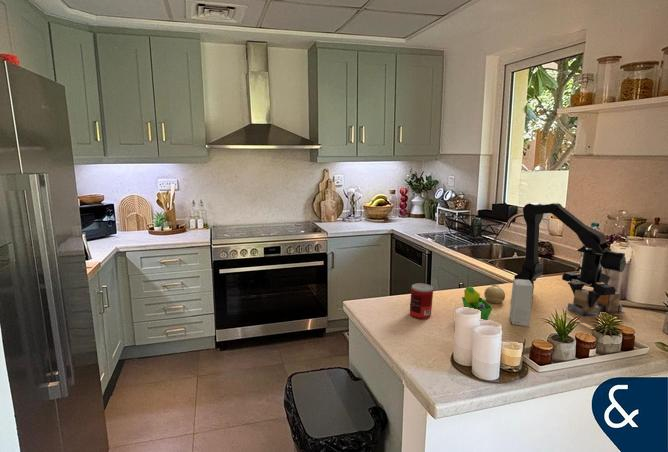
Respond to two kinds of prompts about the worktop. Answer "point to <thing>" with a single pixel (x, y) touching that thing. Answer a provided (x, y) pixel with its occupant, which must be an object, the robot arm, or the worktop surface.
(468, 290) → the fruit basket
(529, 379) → the worktop surface
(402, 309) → the worktop surface
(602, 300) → the taupe stone cube
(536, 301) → the worktop surface
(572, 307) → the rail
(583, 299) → the grey stone block
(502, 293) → the onion
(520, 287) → the skincare box
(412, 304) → the canned food
